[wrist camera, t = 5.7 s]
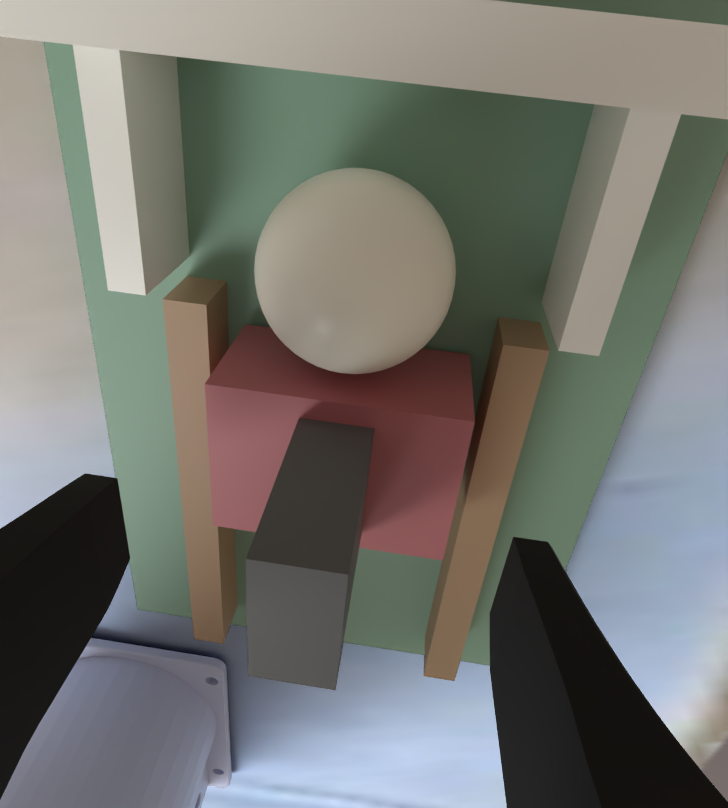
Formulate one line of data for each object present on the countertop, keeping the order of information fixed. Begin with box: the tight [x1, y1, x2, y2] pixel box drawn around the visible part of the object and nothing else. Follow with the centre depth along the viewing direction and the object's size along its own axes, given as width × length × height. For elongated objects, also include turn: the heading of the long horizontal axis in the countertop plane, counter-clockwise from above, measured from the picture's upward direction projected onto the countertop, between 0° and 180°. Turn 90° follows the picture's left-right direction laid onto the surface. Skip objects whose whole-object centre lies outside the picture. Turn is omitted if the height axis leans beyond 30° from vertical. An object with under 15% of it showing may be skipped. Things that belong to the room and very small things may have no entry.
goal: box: [0, 0, 728, 356], centre depth 11 cm, size 6×10×4 cm, turn 85°
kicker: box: [205, 324, 475, 690], centre depth 13 cm, size 4×6×7 cm
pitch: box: [43, 0, 728, 681], centre depth 16 cm, size 20×14×2 cm
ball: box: [254, 168, 456, 374], centre depth 12 cm, size 4×4×4 cm
